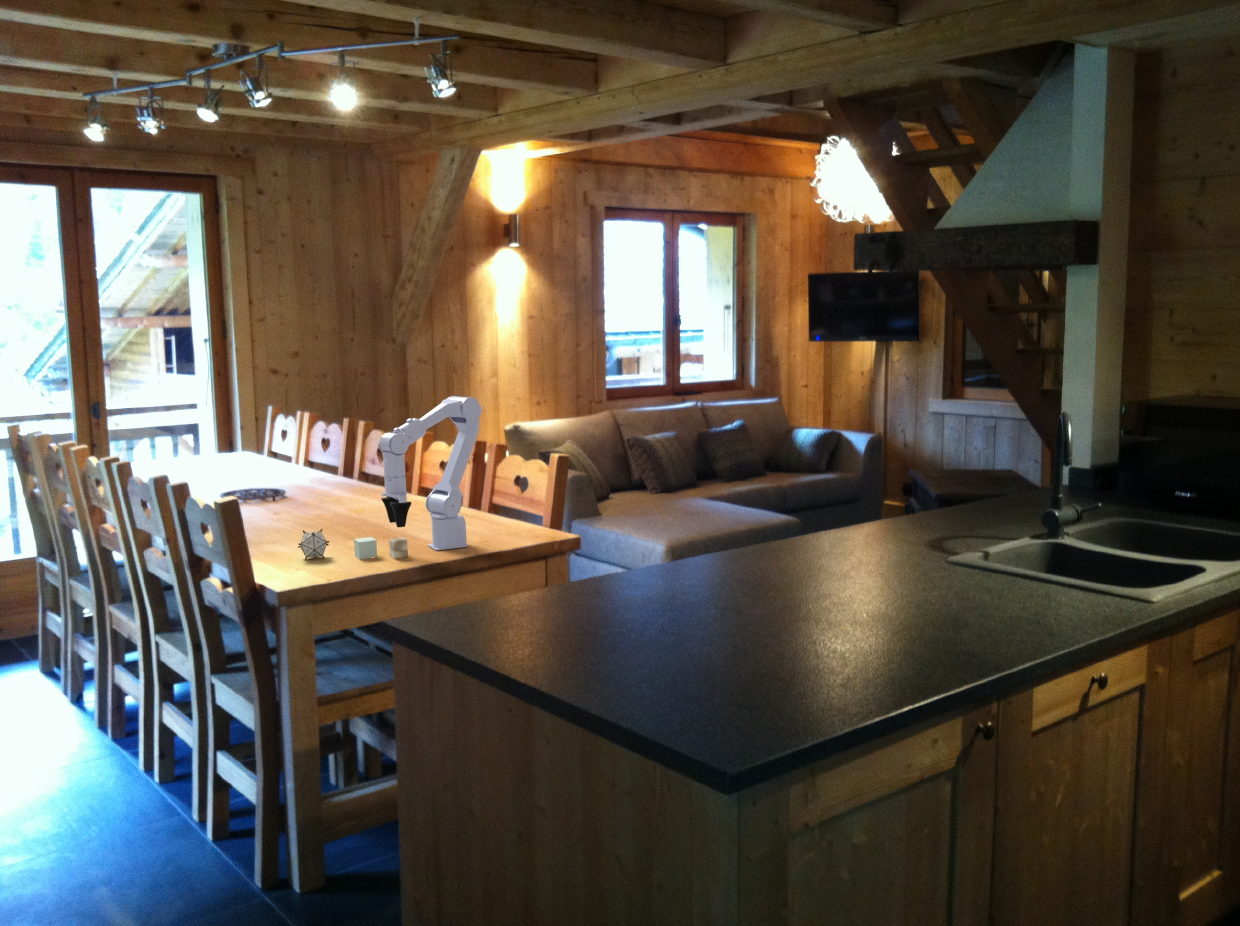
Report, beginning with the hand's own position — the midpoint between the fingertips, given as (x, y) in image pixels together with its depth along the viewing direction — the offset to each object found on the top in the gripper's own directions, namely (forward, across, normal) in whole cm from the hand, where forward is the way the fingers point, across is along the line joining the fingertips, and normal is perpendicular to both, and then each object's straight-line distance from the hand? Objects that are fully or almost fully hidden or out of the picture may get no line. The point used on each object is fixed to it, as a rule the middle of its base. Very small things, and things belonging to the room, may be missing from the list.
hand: (397, 524), depth 301 cm
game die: (+9, -11, -21) cm, 26 cm away
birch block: (+9, 0, 0) cm, 9 cm away
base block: (+9, -5, -8) cm, 13 cm away
